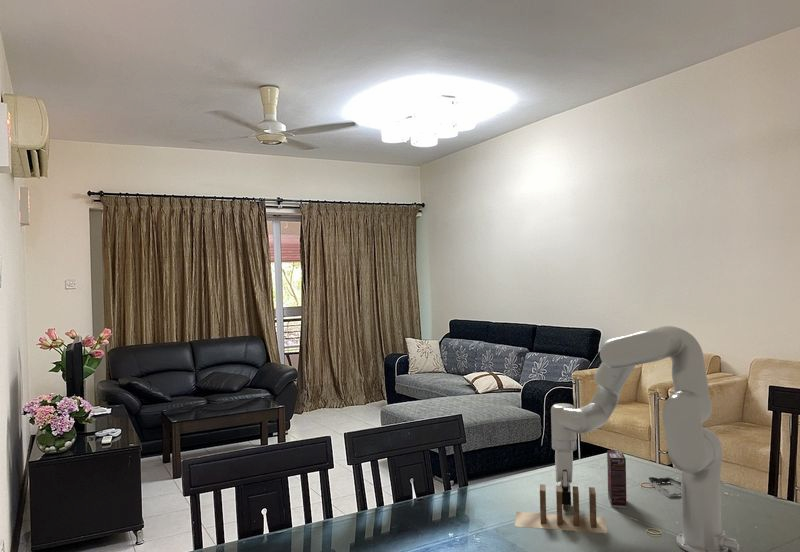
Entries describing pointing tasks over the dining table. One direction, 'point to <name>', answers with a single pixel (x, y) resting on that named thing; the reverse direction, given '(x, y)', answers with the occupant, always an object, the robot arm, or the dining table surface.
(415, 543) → the dining table surface
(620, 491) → the supplement box
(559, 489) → the domino
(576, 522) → the domino
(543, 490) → the domino
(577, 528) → the light wooden board
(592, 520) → the domino
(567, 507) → the domino
